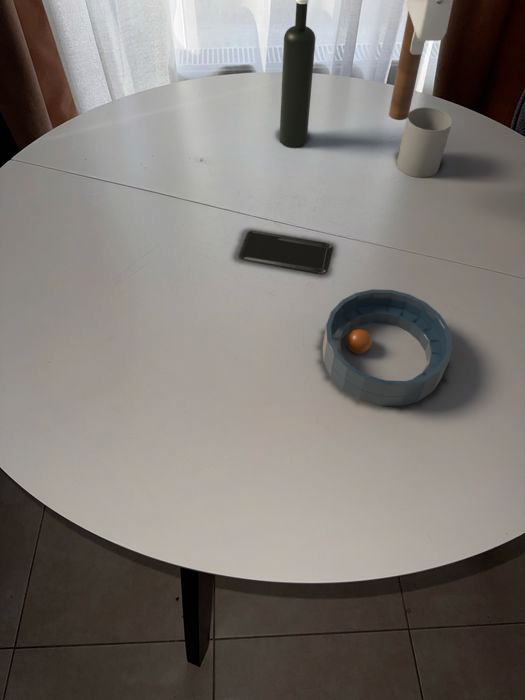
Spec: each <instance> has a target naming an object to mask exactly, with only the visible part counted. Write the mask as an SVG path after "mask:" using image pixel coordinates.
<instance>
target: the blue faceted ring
mask: <svg viewBox="0 0 525 700" xmlns="http://www.w3.org/2000/svg"><path fill="white" fill-rule="evenodd" d="M368 324H386V325H391V326H394V327H398V328H399V329H401V330H403V331H405V332H407V333H408V334H410V335H411V336H412V337H414V339H415V340H417V341H418V342H419V344H420V346H421V347H422V349H423V350H424V353H425V359H426V367H425V368H424V370H423V371H422V372H421V373H420V374H418V375H416V376H415V377H413V378H412V379H408V380H386V379H382V378H379V377H375V376H372V375H368V374H366V373H364V372H362V371H361V370H359V369H358V368H355V367H354V366H353V365H351V364H350V363H349V362H348V361H347V360H346V357H345V355H344V353H343V351H342V345H341V344H342V343H341V342H342V340H343V339H344V338H345V336H346V335H347V334H349V333H350V331H353V330H355V328H357V327H360V326H363V325H368ZM323 336H324V337H323V342H322V360H323V364H324V367H325V368H326V371H327V372H328V374H329V377H330V378H331V379H332V380H333V381H334V382H335V383H336V384H337V386H338V387H340V388H341V390H342V391H344V392H345V393H347V394H349V395H350V396H352V397H354V398H356V399H358V400H359V401H362V402H365V403H369V404H373V405H376V406H381V407H401V406H405V405H409V404H413V403H417V402H419V401H421V400H423V399H424V398H425V397H427V396H429V395H430V394H431V393H433V391H434V390H435V389H436V387H437V386H438V385H439V383H440V382H441V379H442V378H443V375H444V373H445V371H446V368H447V367H448V364H449V362H450V360H451V356H452V351H453V343H454V342H453V338H452V334H451V331H450V327H449V325H448V324H447V322H446V320H444V318H443V316H442V315H441V314H440V313H439V312H438V311H437V310H436V309H434V308H433V307H432V306H431V305H430V304H429V303H427V302H426V301H424V300H423V299H422V300H421V299H420V298H418V297H417V296H416V297H415V296H414V295H412V294H409V293H407V292H401V291H397V290H395V289H375V288H374V289H367V290H362V291H359V292H354V293H353V294H351V295H348V296H347V297H345V298H343V299H341V300H340V301H339V302H338V304H336V306H335V307H334V308H333V309H332V310H331V311H330V313H329V317H328V319H327V321H326V323H325V330H324V335H323Z"/></svg>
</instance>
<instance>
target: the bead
mask: <svg viewBox="0 0 525 700" xmlns="http://www.w3.org/2000/svg"><path fill="white" fill-rule="evenodd" d="M372 343H373V342H372V336H371V334H370V333H369V332H368V331H367V330H365V329H360V328H357V329H352V330H351V332H349V333H348V335H347V338H346V346H347V348H348V350H349V351H350V352H352V353H354V354H357V355H358V354H359V355H361V354H365V353H366V352H368V351H369V350H370V348H371V347H372Z"/></svg>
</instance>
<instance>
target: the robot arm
mask: <svg viewBox="0 0 525 700" xmlns="http://www.w3.org/2000/svg"><path fill="white" fill-rule="evenodd" d="M404 1H405V6H406V16H407V15H408V11H409V14H410V17H411V20H412V23H413V26H414V33H413V37H412V38H411V41H410V46H409V49H410V52H411V54H415V55H420V54H421V53H422V54H423V52H424V47H425V44H426V42H427V41H430V42H431V41H433V42H435V41H442V40H443V39H444V38H445V36H446V34H447V31H448V25H449V21H450V18H451V17H450V16H451V12H452V7H453V3H454V2H453V1H454V0H404Z"/></svg>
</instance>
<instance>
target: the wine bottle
mask: <svg viewBox="0 0 525 700" xmlns="http://www.w3.org/2000/svg"><path fill="white" fill-rule="evenodd" d="M295 3H296V4H295V18H294V19H295V21H294V25H293V26H291V27H289V28H287V30H286V31H285V33H284V36H283V50H282V51H283V53H282V71H281V73H282V74H281V94H280V96H281V97H280V117H279V118H280V119H279V120H280V121H279V142H280V144H281V145H283V146H284V147H287V148H294V149H295V148H301V147H303V146H304V145H306V143H307V141H308V133H309V132H308V131H309V121H310V120H309V119H310V111H311V110H310V108H311V98H312V97H311V96H312V95H311V94H312V87H313V86H312V84H313V75H314V74H313V73H314V64H315V63H314V61H315V50H316V35H315V34H316V33H315V32H314V31H313V29H312V28H310V27H309V26H307V16H308V3H309V0H295Z"/></svg>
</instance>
